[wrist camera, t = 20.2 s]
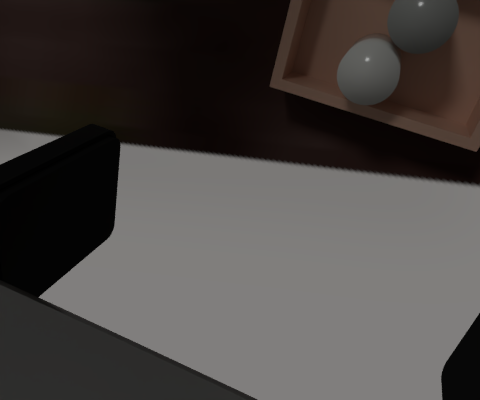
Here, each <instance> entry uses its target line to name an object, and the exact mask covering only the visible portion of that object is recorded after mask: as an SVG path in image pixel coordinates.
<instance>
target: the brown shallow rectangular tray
mask: <svg viewBox="0 0 480 400" xmlns="http://www.w3.org/2000/svg"><path fill="white" fill-rule="evenodd" d="M394 1H395V0H291V2H290V6H289V10H288V14H287V18H286V22H285V26H284V30H283V34H282V38H281V42H280V46H279V50H278V54H277V58H276V62H275V66H274V70H273V74H272V78H271V82H270V87H273V88H276V89H279V90H282V91H285V92H288V93H292V94H295V95H298V96H301V97H304V98H307V99H311V100H314V101H317V102H320V103H323V104H326V105H330V106H333V107H336V108H339V109H342V110H345V111H349V112H352V113H355V114H358V115H361V116H364V117H367V118H371V119H374V120H377V121H380V122H383V123H386V124H390V125H393V126H396V127H399V128H402V129H405V130H409V131H412V132H415V133H418V134H421V135H424V136H428V137H431V138H434V139H437V140H440V141H443V142H446V143H450V144H453V145H456V146H459V147H462V148H465V149H469V150H472V151H475V152H477V150H478V148H479V147H480V0H456V1H457V4H458V8H459V18H458V23H457V26H456V28H455V30H454V32H453V34H452V35H451V37H450V38H449V39H448V40H447V41H446V42H445V43H444V44H443V45H442V46H440V47H439V48H437V49H435V50H433V51H431V52H428V53H423V54H413V53H408V52H406V51H403V50H402V49H400V51H401V56H402V61H401V69H400V77H399V81H398V84H397V86H396V88H395V90H394V91H393V93H392V94H391V95H390V96H389V97H388V98H386V99H385V100H384V101H382V102H380V103H377V104H374V105H359V104H356V103H353V102H352V101H350V100H348V99H347V98H346V97H345V96H344V95H343V94H342V92H341V90H340V88H339V86H338V82H337V70H338V66H339V64H340V62H341V60H342V58H343V57H344V56H345V54H346V53H347V52H348V51H349V50H350V48H351V47H352V46H353V45H354V44H355V42H356V41H358V40H359V39H360V38H362V37H363V36H366V35H368V34H373V33H380V34H385V35H387V36H389V37H390V35H389V32H388V26H387V21H388V15H389V11H390V9H391V6H392V5H393V3H394Z"/></svg>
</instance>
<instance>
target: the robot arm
mask: <svg viewBox="0 0 480 400" xmlns="http://www.w3.org/2000/svg"><path fill="white" fill-rule="evenodd" d="M119 157H120V141H119V140H118V139H117V138H116V135H115V133H114V132H113V131H111V130H108V129H105V128H103V127H100V126H97V125H94V124H90V125H87V126H85V127H83V128H81V129H78V130H76V131H74V132H72V133H70V134H67V135H65V136H63V137H61V138H58V139H56V140H54V141H52V142H50V143H47V144H45V145H43V146H41V147H38V148H36V149H34V150H32V151H30V152H27V153H25V154H23V155H21V156H18V157H16V158H14V159H12V160H10V161H8V162H5V163H3V164H1V165H0V400H257V399H255V398H253V397H251V396H249V395H247V394H244V393H242V392H240V391H238V390H236V389H234V388H231V387H229V386H227V385H225V384H223V383H221V382H219V381H217V380H214V379H212V378H210V377H208V376H206V375H204V374H202V373H200V372H198V371H195V370H193V369H191V368H189V367H187V366H185V365H183V364H181V363H178V362H176V361H174V360H172V359H169V358H168V357H165V356H163V355H161V354H159V353H157V352H155V351H153V350H151V349H148V348H146V347H144V346H142V345H140V344H138V343H136V342H133V341H131V340H129V339H127V338H125V337H122V336H121V335H118V334H116V333H114V332H112V331H110V330H107V329H105V328H103V327H101V326H99V325H97V324H94V323H92V322H90V321H88V320H86V319H84V318H82V317H79V316H77V315H75V314H73V313H71V312H69V311H66V310H64V309H62V308H60V307H57V306H56V305H53V304H51V303H49V302H47V301H45V300H43V299H40V298H38V297H39V296H40V295H41V294H43V293H44V292H45V291H46V290H47V289H48V288H49V287H51V286H52V285H53V284H54V283H56V282H57V281H58V280H59V279H60V278H61V277H63V276H64V275H65V274H66V273H67V272H68V271H70V270H71V269H72V268H73V267H74V266H76V265H77V264H78V263H79V262H80V261H82V260H83V259H84V258H85V257H86V256H88V255H89V254H90V253H91V252H92V251H93V250H95V249H96V248H97V247H98V246H99V245H101V244H102V243H103V242H104V241H105V240H107V239H108V237H109V236H110V235H111V233H112V231H113V228H114V221H115V210H116V196H117V183H118V182H117V181H118V170H119ZM441 382H442V398H443V400H480V313H479V315H478V316H477V318H476V319H475V321H474V322H473V324H472V325H471V327H470V328H469V330H468V331H467V332H466V334H465V335H464V337H463V338H462V340H461V341H460V343H459V344H458V346H457V347H456V349H455V350H454V352H453V353H452V355H451V356H450V357H449V359H448V360H447V362H446V364H445V366H444V368H443V371H442V376H441Z"/></svg>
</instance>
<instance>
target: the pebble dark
mask: <svg viewBox="0 0 480 400" xmlns="http://www.w3.org/2000/svg"><path fill="white" fill-rule="evenodd" d="M458 18H459V8H458V4H457V1H456V0H395V1H394V3H393V5H392V6H391V9H390V11H389V15H388V21H387V26H388V32H389V35H390V37H391V39H392V41H393V42H394V44H395V45H396V46H397V47H399V48H400V49H402V50H403V51H406V52H408V53H413V54H423V53H428V52H431V51H433V50H435V49H437V48H439V47H440V46H442V45H443V44H444V43H445V42H446V41H447V40H448V39H449V38H450V37H451V35H452V34H453V32H454V30H455V28H456V26H457V23H458Z"/></svg>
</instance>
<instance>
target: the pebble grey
mask: <svg viewBox="0 0 480 400" xmlns="http://www.w3.org/2000/svg"><path fill="white" fill-rule="evenodd" d="M401 61H402V56H401V51H400V48H399V47H397V46H396V45H395V44H394V42H393V41H392V39H391V37H389V36H387V35H385V34H380V33H373V34H368V35H366V36H363V37H362V38H360V39H359V40H358V41H356V42H355V44H354V45H353V46H352V47H351V48H350V50H349V51H348V52H347V53H346V54H345V56H344V57H343V58H342V60H341V62H340V64H339V66H338V70H337V82H338V86H339V88H340V90H341V92H342V94H343V95H344V96H345V97H346V98H347V99H348V100H350V101H352V102H353V103H356V104H359V105H374V104H377V103H380V102H382V101H384V100H385V99H386V98H388V97H389V96H390V95H391V94H392V93H393V91H394V90H395V88H396V86H397V84H398V81H399V77H400V69H401Z"/></svg>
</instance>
